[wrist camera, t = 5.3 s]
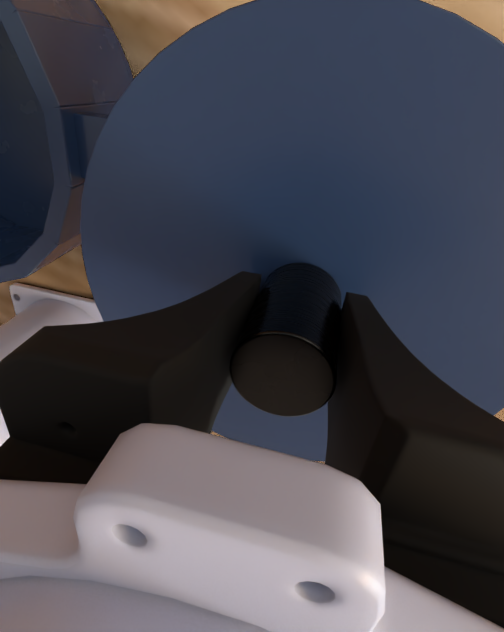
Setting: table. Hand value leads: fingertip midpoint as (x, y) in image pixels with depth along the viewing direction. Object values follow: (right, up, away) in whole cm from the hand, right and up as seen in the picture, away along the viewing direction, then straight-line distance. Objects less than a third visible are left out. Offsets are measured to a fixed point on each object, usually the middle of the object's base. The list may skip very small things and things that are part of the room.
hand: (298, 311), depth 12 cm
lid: (0, +1, +1) cm, 1 cm away
